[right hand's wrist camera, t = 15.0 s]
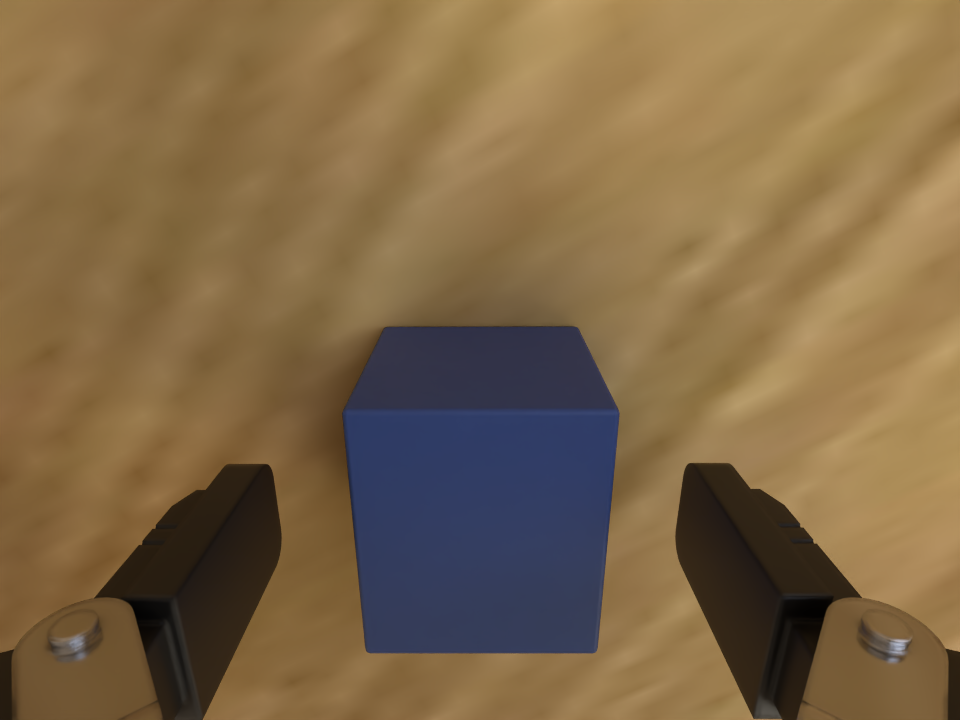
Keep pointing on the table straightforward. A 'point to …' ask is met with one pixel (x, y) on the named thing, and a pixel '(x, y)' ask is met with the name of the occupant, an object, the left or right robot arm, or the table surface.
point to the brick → (481, 490)
